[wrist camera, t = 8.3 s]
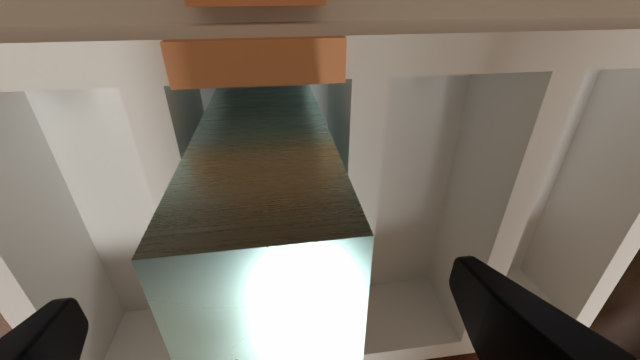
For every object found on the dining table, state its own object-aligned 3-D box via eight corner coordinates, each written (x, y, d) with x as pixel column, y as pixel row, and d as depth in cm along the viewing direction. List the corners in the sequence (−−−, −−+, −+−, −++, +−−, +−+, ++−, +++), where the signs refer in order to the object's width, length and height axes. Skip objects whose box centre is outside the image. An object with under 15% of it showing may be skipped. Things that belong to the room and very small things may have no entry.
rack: (531, 261, 16) (608, 341, 13) (99, 309, 14) (39, 422, 10) (680, -85, 10) (938, -128, 6) (-111, -102, 7) (-497, -192, 4)
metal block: (313, 278, 13) (349, 511, 8) (253, 284, 13) (242, 531, 7) (306, 77, 9) (373, 236, 3) (220, 81, 9) (130, 261, 3)
